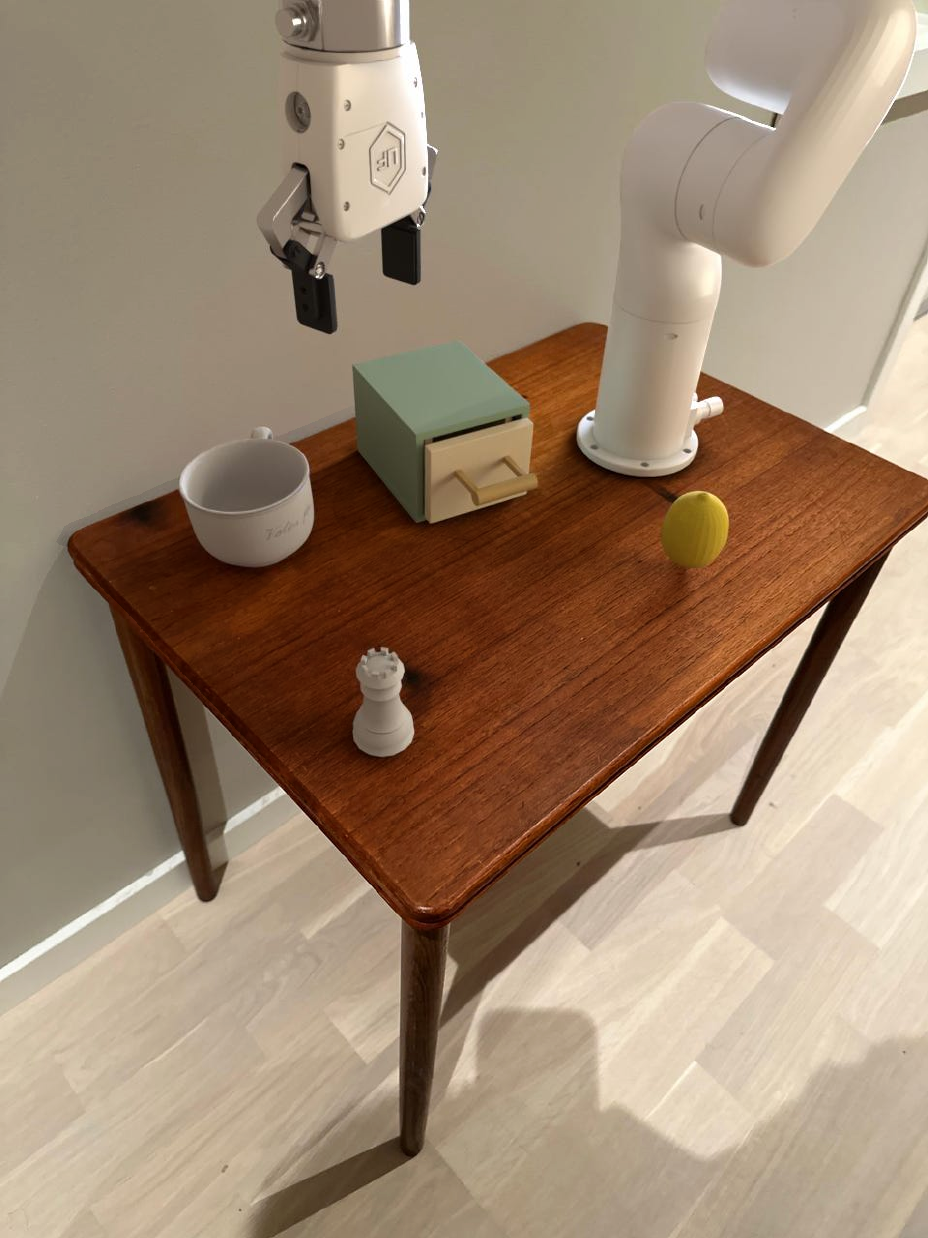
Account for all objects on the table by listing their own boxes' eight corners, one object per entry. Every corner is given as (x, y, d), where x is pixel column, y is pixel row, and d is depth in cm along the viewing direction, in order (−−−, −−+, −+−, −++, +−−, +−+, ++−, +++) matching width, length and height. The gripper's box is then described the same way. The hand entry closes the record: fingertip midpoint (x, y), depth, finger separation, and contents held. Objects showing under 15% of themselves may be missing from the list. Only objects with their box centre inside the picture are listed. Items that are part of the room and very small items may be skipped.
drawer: (553, 521, 80) (562, 449, 75) (454, 553, 76) (457, 480, 71) (464, 430, 91) (466, 361, 85) (373, 454, 87) (370, 384, 82)
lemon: (642, 554, 79) (658, 481, 73) (693, 540, 80) (713, 468, 75) (675, 593, 75) (696, 519, 69) (728, 577, 77) (752, 504, 71)
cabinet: (522, 490, 85) (530, 404, 78) (416, 523, 81) (415, 434, 74) (456, 423, 93) (458, 339, 87) (357, 450, 89) (351, 364, 82)
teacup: (293, 594, 73) (283, 518, 68) (173, 573, 75) (153, 498, 69) (342, 498, 83) (337, 425, 78) (235, 482, 85) (222, 409, 79)
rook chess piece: (370, 704, 65) (365, 629, 59) (424, 723, 64) (424, 648, 58) (341, 748, 62) (333, 673, 56) (398, 769, 61) (395, 694, 55)
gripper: (294, 56, 44) (323, 365, 56) (479, 6, 55) (470, 275, 67) (189, 34, 47) (238, 333, 59) (384, -9, 57) (392, 252, 69)
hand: (361, 302), depth 63 cm, fingers open, 9 cm apart
